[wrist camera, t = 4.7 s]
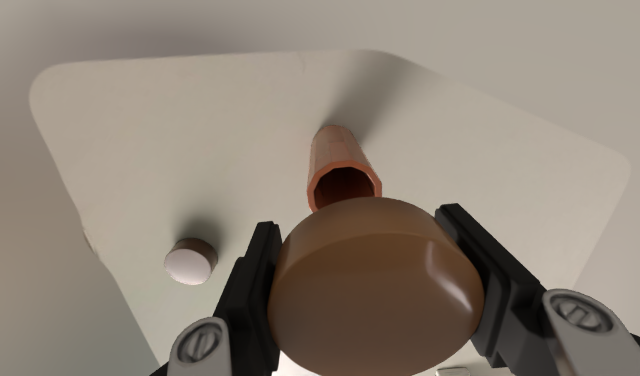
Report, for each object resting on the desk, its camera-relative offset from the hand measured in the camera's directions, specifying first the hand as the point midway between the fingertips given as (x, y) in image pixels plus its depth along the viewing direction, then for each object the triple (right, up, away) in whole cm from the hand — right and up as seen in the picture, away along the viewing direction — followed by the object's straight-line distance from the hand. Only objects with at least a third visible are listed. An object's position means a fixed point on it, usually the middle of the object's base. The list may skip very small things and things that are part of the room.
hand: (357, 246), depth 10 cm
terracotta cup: (0, +6, +15) cm, 16 cm away
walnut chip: (-16, -6, +20) cm, 27 cm away
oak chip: (0, -1, -1) cm, 2 cm away
